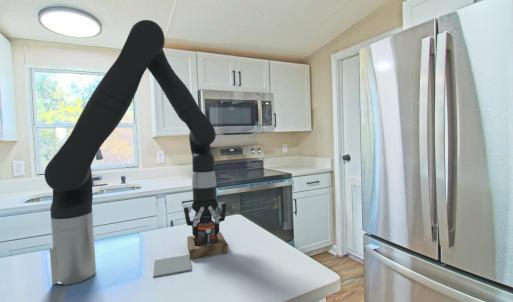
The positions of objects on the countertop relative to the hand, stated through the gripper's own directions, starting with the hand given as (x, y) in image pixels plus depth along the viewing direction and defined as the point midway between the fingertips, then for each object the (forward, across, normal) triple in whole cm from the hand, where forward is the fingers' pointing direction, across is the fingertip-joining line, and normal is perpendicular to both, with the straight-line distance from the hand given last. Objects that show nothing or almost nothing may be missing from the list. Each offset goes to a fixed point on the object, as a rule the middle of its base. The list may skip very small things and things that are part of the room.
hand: (206, 235), depth 89 cm
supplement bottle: (+5, 0, 0) cm, 5 cm away
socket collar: (+5, 0, 0) cm, 5 cm away
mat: (+5, -11, -8) cm, 14 cm away
